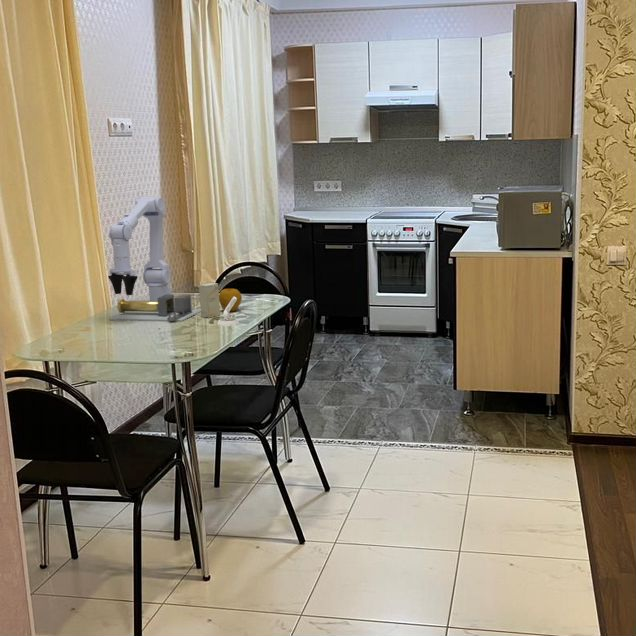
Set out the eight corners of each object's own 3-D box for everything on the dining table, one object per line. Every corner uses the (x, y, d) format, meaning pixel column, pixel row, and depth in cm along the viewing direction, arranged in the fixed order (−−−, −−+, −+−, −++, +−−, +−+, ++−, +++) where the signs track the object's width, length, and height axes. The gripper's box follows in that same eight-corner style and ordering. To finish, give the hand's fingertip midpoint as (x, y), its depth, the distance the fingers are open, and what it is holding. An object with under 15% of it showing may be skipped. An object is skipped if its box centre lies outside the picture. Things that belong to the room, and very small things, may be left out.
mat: (133, 310, 327) (132, 308, 327) (202, 311, 318) (202, 309, 318) (109, 320, 310) (109, 318, 310) (182, 321, 302) (181, 319, 301)
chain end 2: (184, 312, 315) (183, 294, 313) (191, 312, 314) (190, 294, 312) (166, 320, 301) (165, 302, 299) (174, 321, 300) (172, 302, 299)
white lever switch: (250, 310, 289) (233, 301, 287) (232, 337, 292) (215, 328, 290) (249, 302, 296) (232, 293, 294) (232, 328, 299) (215, 319, 297)
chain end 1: (176, 308, 324) (175, 290, 322) (183, 308, 323) (182, 290, 321) (158, 316, 310) (157, 298, 308) (166, 316, 309) (164, 298, 307)
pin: (125, 311, 321) (123, 298, 320) (170, 311, 315) (169, 298, 314) (118, 314, 316) (116, 300, 315) (163, 314, 310) (162, 301, 309)
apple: (245, 308, 320) (243, 286, 318) (237, 313, 312) (236, 290, 310) (224, 308, 322) (222, 286, 320) (216, 313, 314) (214, 290, 312)
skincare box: (209, 318, 305) (206, 285, 303) (200, 317, 308) (198, 285, 305) (221, 315, 310) (218, 283, 307) (212, 314, 313) (210, 282, 310)
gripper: (101, 257, 305) (103, 294, 307) (123, 258, 295) (125, 296, 297) (118, 256, 310) (120, 292, 312) (139, 257, 300) (141, 294, 302)
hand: (123, 294), depth 305 cm, fingers open, 7 cm apart
